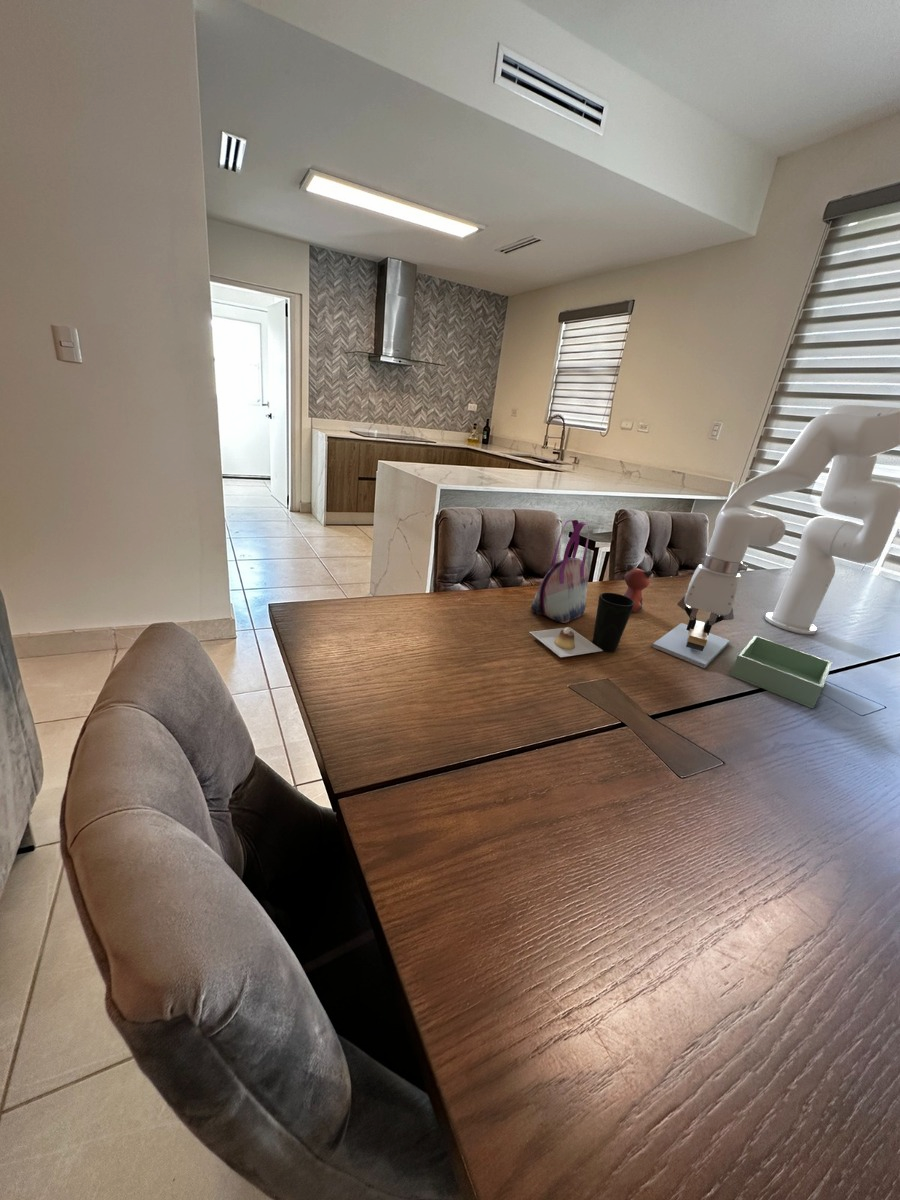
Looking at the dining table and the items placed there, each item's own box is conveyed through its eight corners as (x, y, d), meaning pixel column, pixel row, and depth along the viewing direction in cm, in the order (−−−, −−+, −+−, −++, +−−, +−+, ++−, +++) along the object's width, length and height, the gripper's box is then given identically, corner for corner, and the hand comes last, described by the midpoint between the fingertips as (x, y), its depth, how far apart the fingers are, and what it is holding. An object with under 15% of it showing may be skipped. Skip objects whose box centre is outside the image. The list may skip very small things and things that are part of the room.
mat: (680, 626, 126) (681, 622, 126) (728, 643, 119) (729, 640, 119) (651, 647, 112) (653, 643, 112) (704, 668, 105) (705, 664, 105)
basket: (747, 653, 115) (755, 635, 113) (822, 681, 106) (832, 662, 104) (729, 675, 104) (737, 655, 102) (812, 708, 94) (823, 687, 92)
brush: (687, 629, 120) (691, 619, 119) (704, 634, 119) (708, 623, 117) (685, 646, 110) (689, 635, 109) (703, 651, 109) (707, 640, 108)
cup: (623, 657, 106) (637, 608, 101) (588, 650, 107) (601, 602, 102) (618, 642, 113) (631, 596, 108) (586, 635, 114) (598, 590, 109)
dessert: (568, 631, 115) (572, 613, 114) (602, 655, 106) (607, 636, 104) (528, 636, 110) (531, 617, 108) (559, 661, 100) (564, 642, 99)
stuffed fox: (606, 609, 131) (617, 569, 127) (619, 599, 140) (629, 561, 135) (633, 618, 127) (645, 577, 123) (644, 607, 136) (656, 568, 131)
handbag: (550, 630, 115) (572, 530, 105) (518, 615, 121) (535, 519, 111) (593, 611, 129) (616, 522, 120) (562, 598, 135) (581, 513, 126)
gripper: (759, 569, 109) (731, 640, 116) (684, 553, 115) (663, 620, 122) (761, 577, 103) (732, 651, 110) (683, 560, 109) (660, 630, 116)
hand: (696, 634), depth 116 cm, fingers closed on brush, 2 cm apart
